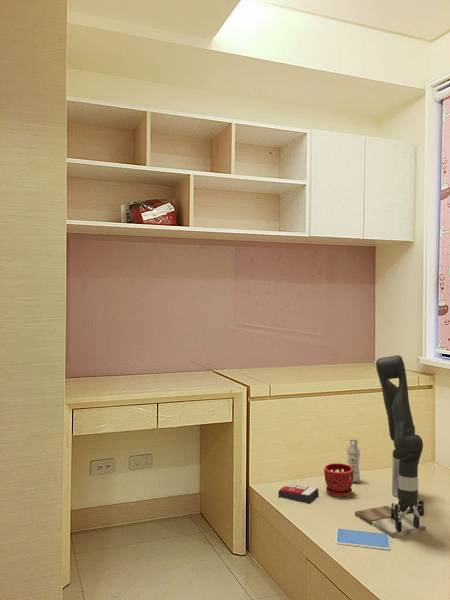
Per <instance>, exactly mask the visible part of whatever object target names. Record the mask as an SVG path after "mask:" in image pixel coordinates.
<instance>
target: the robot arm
mask: <svg viewBox="0 0 450 600" xmlns="http://www.w3.org/2000/svg"><path fill="white" fill-rule="evenodd" d="M375 367H376V368H375V369H376V373H377V376H378V379H379V383H380V386H381V390H382V397H383V403H384V408H385V412H386V415H387V422H388V432H389V436H390V437H389V438H390V440H391V441H392V442H393V446H394V449H393V451H392V464H391V465H392V467H391V468H392V470H391V471H392V473H391V474H392V475H391V477H392V478H391V480H392V481H391V494H392V495H393V497H396V498H397V499H398V503H392V504H391V506H390V507H391V519H393V520H395V528H396V530H397V531H399V532H401V531H402V522H401V521H402V519H403V518H404V517H405V516H408V515H409V514H410V515H411V514H412V515H413V526H414V527H415V528H419V524H421V523H420V519H421V517H424V516H425V504H424V500H422V499H420V498H419V476H418V475H419V470H418V469H419V463H420V459H421V455H422V453H423V450H424V449H423V448H424V442H423V439H422V437H421V436H420V435H419V434H416V427H415V424H414V421H413V419H414V418H413V415H412V411H411V405H410V399H409V388H408V379H407V372H406V366H405V361H404V359H403V357H402V356H401V355H400V354H397V355H390V356H385V357H380V358H377V360H376V362H375ZM393 379H398V386H397V385H396V384H394V383H393V382H391V380H393ZM401 513H402V514H401ZM394 514H395V517H394ZM399 516H400V517H399Z"/></svg>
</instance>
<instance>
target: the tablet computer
mask: <svg viewBox="0 0 450 600" xmlns="http://www.w3.org/2000/svg"><path fill="white" fill-rule="evenodd" d="M335 535H336V536H335V544H336V545H342V546H350V547H360V548H368V549H376V550H377V549H378V550H386V551H390V550H391V544H390V543H391V542H390V536H389V535H388V534H385V533H384V532H383V533H382V532H373V531H365V530H363V531H362V530H353V529H344V528H336V534H335Z"/></svg>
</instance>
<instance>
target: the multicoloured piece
mask: <svg viewBox="0 0 450 600" xmlns="http://www.w3.org/2000/svg"><path fill="white" fill-rule="evenodd" d="M278 497H280V498H283V499H285V500H286V499H287V500H291V501H295V502H296V501H297V502H300V503H305V504H309V505H311V503H313V501H315V500H316V499H317V498H318V497H319V488H318V487H314V486H308V485H305V484H304V485H303V484H296V483H290V482H289V483H286V484H285V485H284V486H283V487H282V488H280V489H278Z"/></svg>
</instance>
